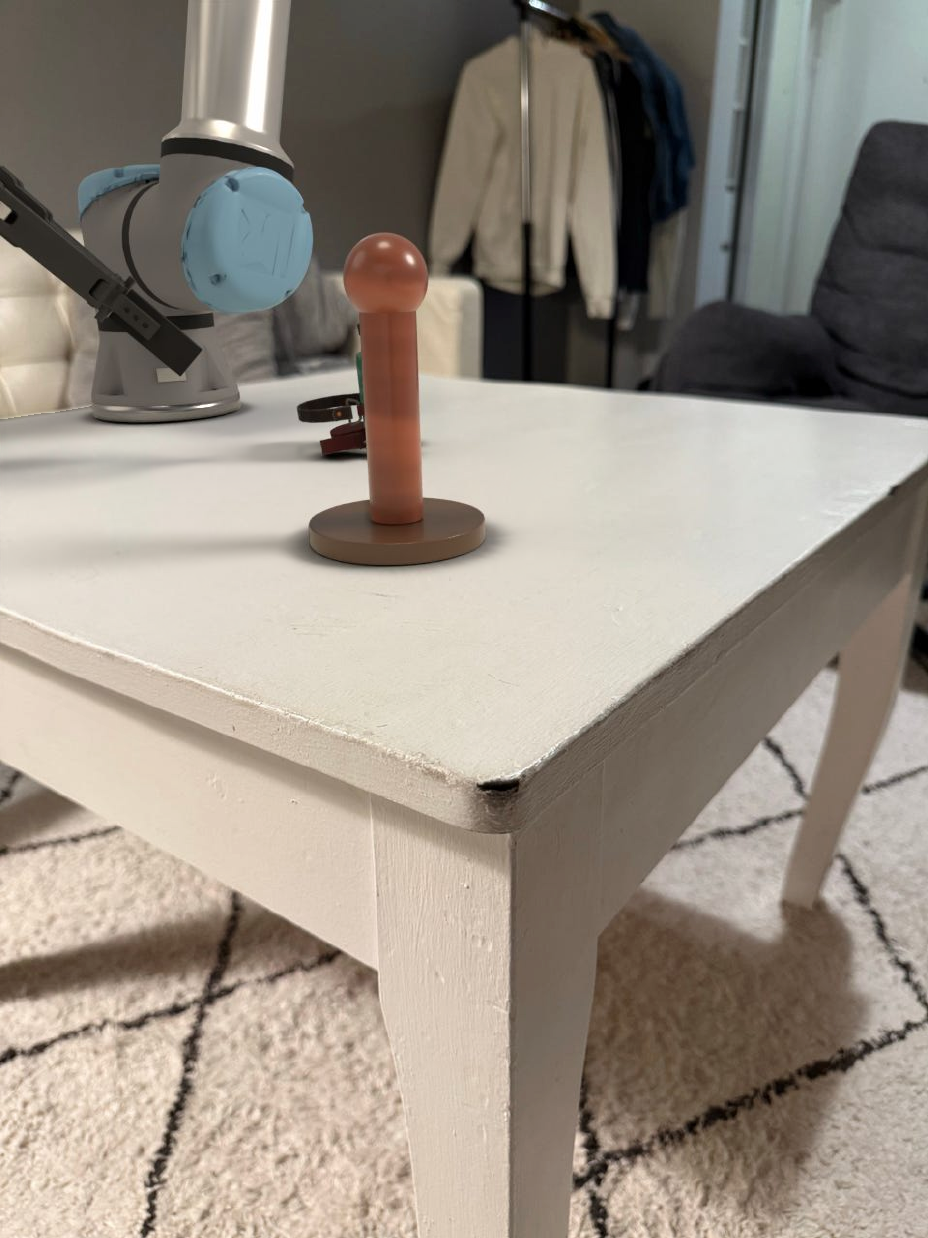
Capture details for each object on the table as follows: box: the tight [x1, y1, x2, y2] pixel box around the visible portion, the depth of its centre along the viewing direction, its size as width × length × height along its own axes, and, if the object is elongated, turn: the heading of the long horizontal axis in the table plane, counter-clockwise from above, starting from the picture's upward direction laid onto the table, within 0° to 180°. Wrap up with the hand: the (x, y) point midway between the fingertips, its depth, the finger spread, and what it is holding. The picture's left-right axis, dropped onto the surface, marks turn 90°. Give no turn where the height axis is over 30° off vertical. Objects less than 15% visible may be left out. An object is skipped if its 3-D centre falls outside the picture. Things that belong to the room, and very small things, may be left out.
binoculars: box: [296, 323, 367, 456], centre depth 75 cm, size 9×11×10 cm
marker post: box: [308, 231, 486, 566], centre depth 49 cm, size 10×10×16 cm
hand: (191, 362), depth 72 cm, fingers closed
